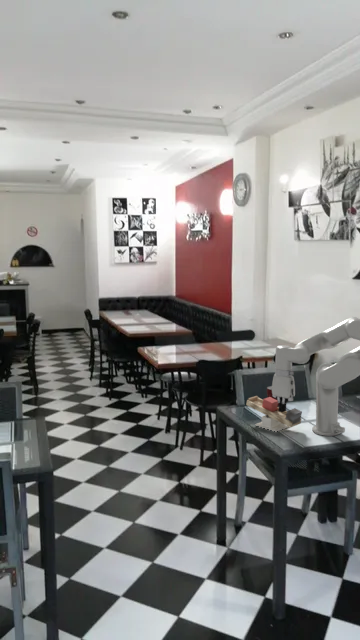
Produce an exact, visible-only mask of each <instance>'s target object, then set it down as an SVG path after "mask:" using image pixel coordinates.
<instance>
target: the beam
mask: <svg viewBox="0 0 360 640" xmlns="http://www.w3.org/2000/svg"><path fill="white" fill-rule="evenodd" d="M245 405H246V406H247V407H250V408H251V409H253V410H255V411H258V412H259V413H262V414H263V415H264V416H265V415H266V417H271V418H273V419H275V420H277V421H279V422H281V423H283V424H285V425H287V426H288V427H287V428H290V429H291V428H293V427H295V426H298V425H300V424H301V423H302V413H303V411H302V410H299V409H298V408H296V407H295V408H291V409H289V410H286V411H284V412H279V406H278V407H277V410H276V411H274V412H271V411H269V410H267V409H265V408H263V407H262V405H263V399H262V398H260V397H259V396H258V395H255V396H254V395H253V396H251V397H248V398H247V400H246V404H245Z"/></svg>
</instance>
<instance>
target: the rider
mask: <svg viewBox="0 0 360 640" xmlns="http://www.w3.org/2000/svg"><path fill="white" fill-rule="evenodd" d="M262 400H263V405H262V407H263V408H265V409H267V410H269V411H271V412H274V411H276V410H277V405H278V400H275V399H273V398H271V397H268V396H267V397H265V398H263V399H262Z"/></svg>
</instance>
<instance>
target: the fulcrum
mask: <svg viewBox="0 0 360 640" xmlns="http://www.w3.org/2000/svg"><path fill="white" fill-rule="evenodd" d="M254 425H256V426H259V427H258V428H260V427H262V428H261V429H263V428H265V429H264V430H267V429H269V430H268V431H270V430H272V431H271V432H274V431H275V432H274V433H278V432H280V431H282V429H283V430H284V429H287V428H289V427H288V426H287V425H285V424H283V423H281V422H279V421H277V420H275V419H273V418H271V417H266V415H265V414H264V415H263V416H261V422H257V423H255V424H254ZM256 426H255V427H256ZM277 431H278V432H277Z"/></svg>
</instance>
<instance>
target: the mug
mask: <svg viewBox="0 0 360 640" xmlns="http://www.w3.org/2000/svg"><path fill="white" fill-rule="evenodd" d="M266 395H267V398H268V397H271V398H273V399H275V400H277V399H276V398H275V397H273V396H272V395H273V394H272V385H271V386H267V387H266ZM277 407H279V403H278V405H277Z"/></svg>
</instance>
